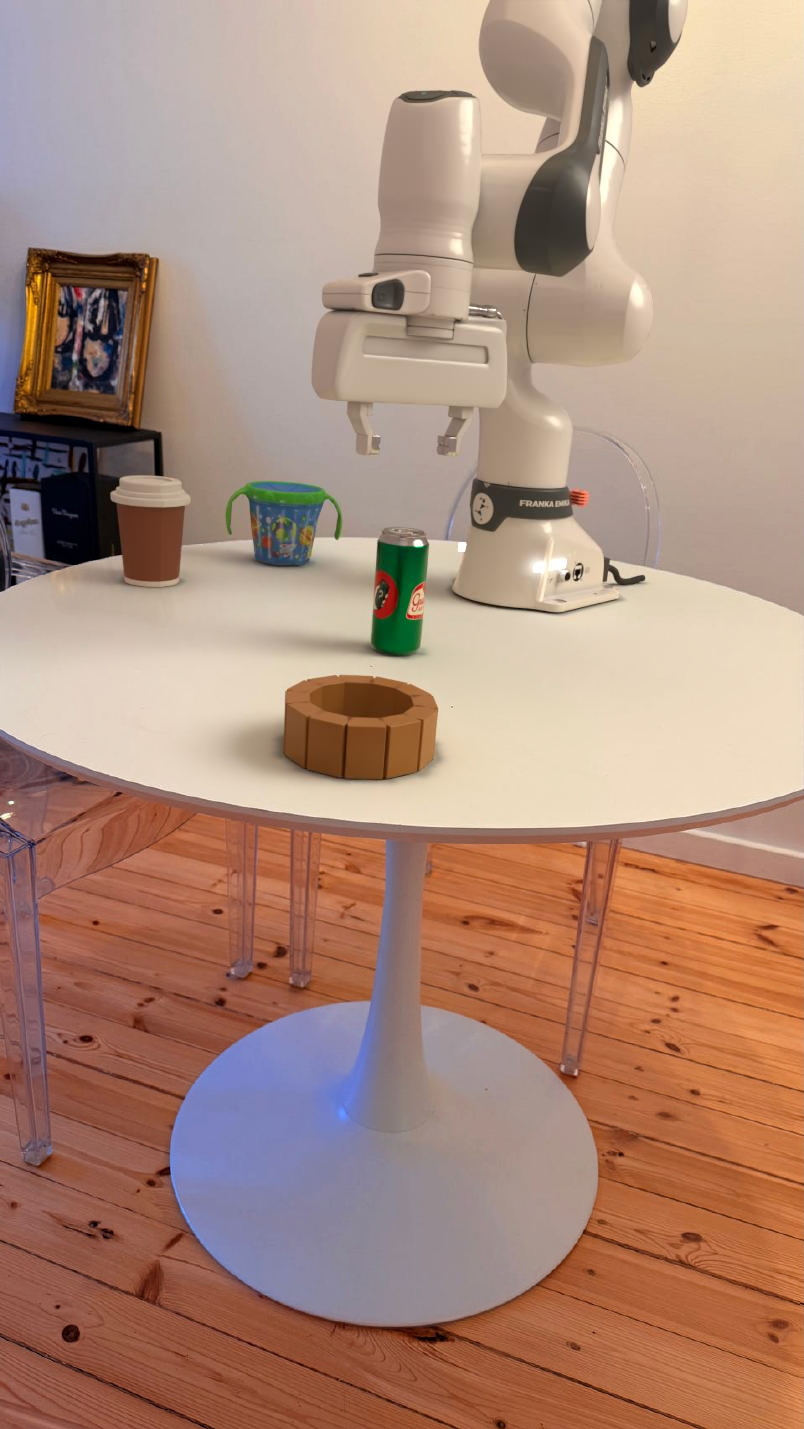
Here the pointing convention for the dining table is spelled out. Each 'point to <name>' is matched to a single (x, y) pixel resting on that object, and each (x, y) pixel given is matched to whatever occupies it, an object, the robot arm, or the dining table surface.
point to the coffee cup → (150, 528)
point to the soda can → (399, 590)
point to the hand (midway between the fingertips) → (408, 455)
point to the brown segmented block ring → (359, 726)
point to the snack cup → (283, 519)
